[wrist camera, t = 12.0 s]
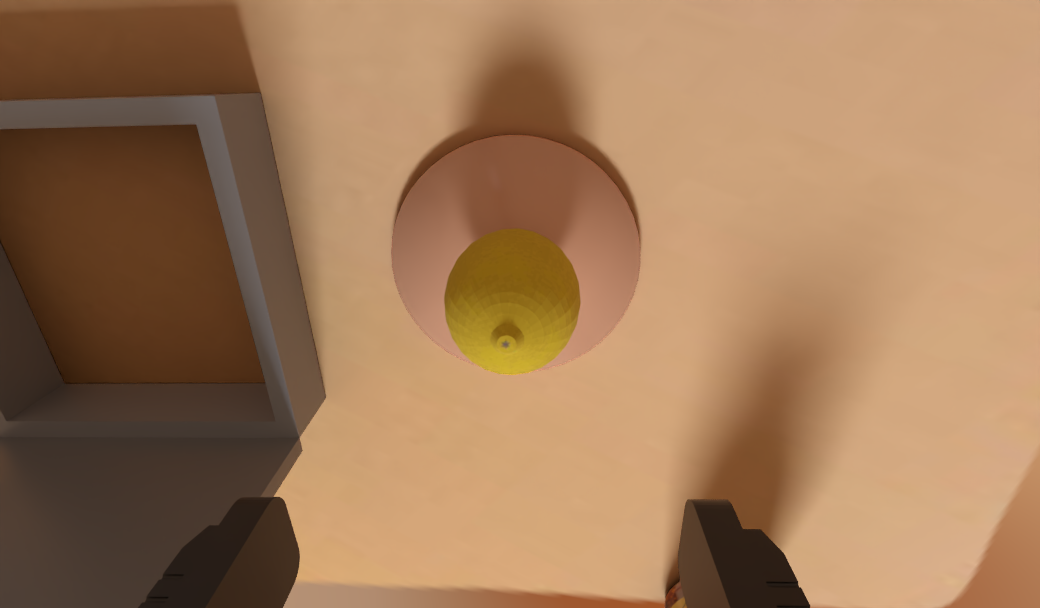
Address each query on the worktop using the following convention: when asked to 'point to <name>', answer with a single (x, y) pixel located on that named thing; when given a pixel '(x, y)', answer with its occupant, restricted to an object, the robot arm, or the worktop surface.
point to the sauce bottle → (675, 597)
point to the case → (150, 391)
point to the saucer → (525, 205)
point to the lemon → (512, 301)
